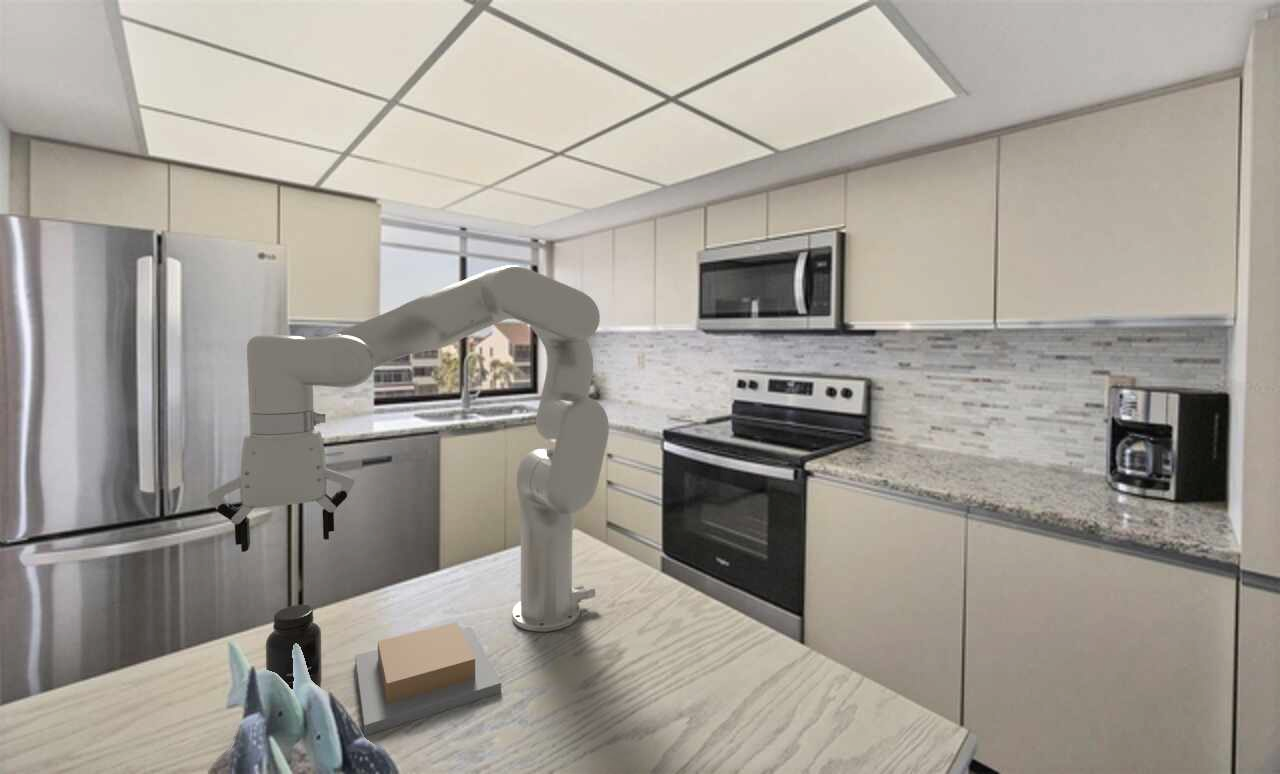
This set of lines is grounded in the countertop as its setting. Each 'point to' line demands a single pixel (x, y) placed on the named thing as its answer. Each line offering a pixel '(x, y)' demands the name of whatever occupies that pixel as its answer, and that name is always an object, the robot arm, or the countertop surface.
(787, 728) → the countertop surface
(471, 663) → the pedestal
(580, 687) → the countertop surface
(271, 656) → the supplement bottle
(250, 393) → the robot arm
